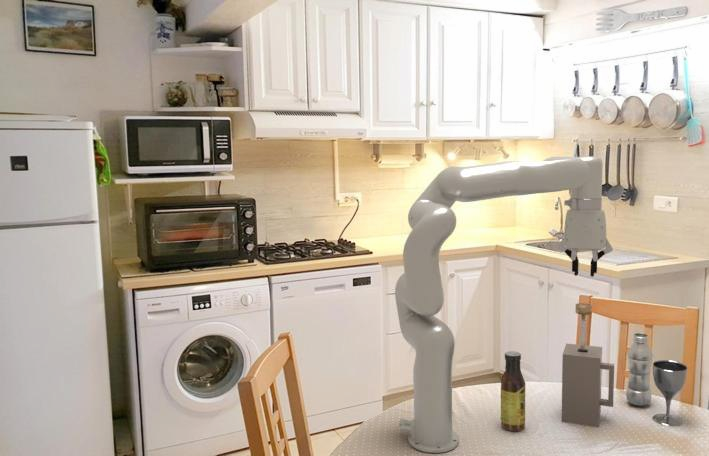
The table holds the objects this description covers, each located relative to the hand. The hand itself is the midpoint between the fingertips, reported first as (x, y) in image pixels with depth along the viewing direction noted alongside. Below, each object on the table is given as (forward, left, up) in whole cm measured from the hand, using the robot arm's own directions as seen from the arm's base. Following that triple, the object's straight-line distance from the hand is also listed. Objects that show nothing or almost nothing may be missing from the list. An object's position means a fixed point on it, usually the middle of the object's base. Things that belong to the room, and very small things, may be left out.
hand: (584, 274), depth 161 cm
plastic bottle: (+14, +14, -39) cm, 44 cm away
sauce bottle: (-16, -12, -39) cm, 44 cm away
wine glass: (+21, +6, -39) cm, 45 cm away
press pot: (+2, 0, -39) cm, 39 cm away
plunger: (0, 0, -28) cm, 28 cm away
